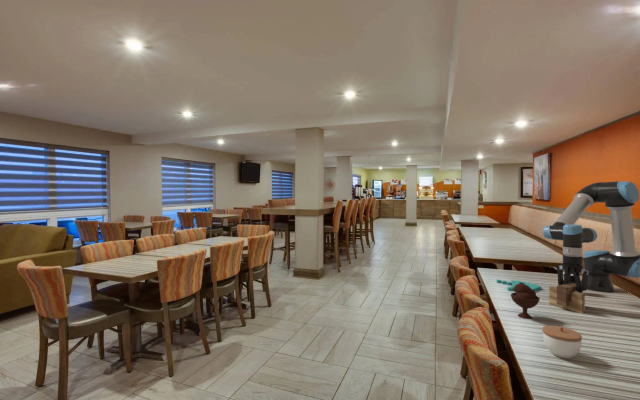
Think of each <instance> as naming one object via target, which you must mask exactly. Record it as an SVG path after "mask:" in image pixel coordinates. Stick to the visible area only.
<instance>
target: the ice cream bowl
mask: <svg viewBox="0 0 640 400" xmlns="http://www.w3.org/2000/svg"><path fill="white" fill-rule="evenodd" d="M513 291H514V292H512V293H510V298H511V299H512V301H513V302H514V304H515V305H517V306H518V307H519V308H521V309H522V312H520V313H518V314H517V317H519V318H521V319H526V320H532V319H533V316H532V315H531V314H529V313H528V309H533V308H534V307H536V306H537V305H539V303H540V297H539V296H537V292H535V291H534V290H533V289H531V288H529V287H528V286H527V285H525V284H517V285H515V287H514V290H513Z"/></svg>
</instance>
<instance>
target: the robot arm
mask: <svg viewBox="0 0 640 400" xmlns="http://www.w3.org/2000/svg"><path fill="white" fill-rule="evenodd" d="M639 199H640V192H639V189H638V187H637V185H636V184H635V183H634V182H632V181H629V180H627V181H624V180H623V181H621V180H618V181H617V180H616V181H602V182H593V183H591V184H588V185H586V186H583V188H581V189H580V190H579V191H577V192H576V193H575V194H574V195H573V199H572V201H571V203H570V204H568V206H567V207H566V208H565V210H563V212H562V213H561V215H560V216H559V217H558V218H557V219H556V221H555V222H554V223H553V224H552V225H545V226H544V227H543V229H542V235H543V237H544V238H545V239H547V240H553V241H555V240H557V241H562V254H563V255H562V265H556V267H555V268H556V270H557V271H556V272H557V286H559V285H564V284H568V282H569V278H570V275H571V274H573V276H574V278H575V283H576V287H577V290H576V291H575V292H579V293H582V291H583V292H584V291H588V290H590V291H594V292H604V293H613V292H614V289H615V286H614V285H613V283H612V279H611V277H610V276H611V275H617V276H621V277H627V278H635V279H639V278H640V252H639V251H637V250H636V242H635V240H636V239H635V233H634V224H633V215H632V208H634V206H636V205H635V203H637V202H638V201H639ZM596 203H597V204H598V203H604V204H605V205H604V206H605V207H606V208H608V209H609V215H610V217H609V218H610V225H611V235H612V242H613V250H611V252H610V250H604V249H603V250H602V249H599V250H598V249H593V250H592V249H591V250H585V251H584V253H583V244H589V243H593V242H595V241H596V240H597V239H598V233H597V231H596V230H595V229H593V228H592V227H591V228H590V227H583V226H582V225H581V224H576V222H577V221H578V220H579V219H580V218H581V216H583V214H584V213H585V211H586V210H587V209H588V208H590V207H591V206H593V205H594V204H596ZM582 256H583V257H582ZM563 272H565V276H564V274H563ZM580 273H581V274H582V275H581V274H580Z"/></svg>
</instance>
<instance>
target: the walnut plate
mask: <svg viewBox="0 0 640 400" xmlns="http://www.w3.org/2000/svg"><path fill="white" fill-rule="evenodd" d="M556 287H557V304H558V305H562V306H566V307H567V306H569V300H571V292H574V291H576V290H577V287H576V283H570V284H564V285H556ZM582 293H584V291H582Z"/></svg>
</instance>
